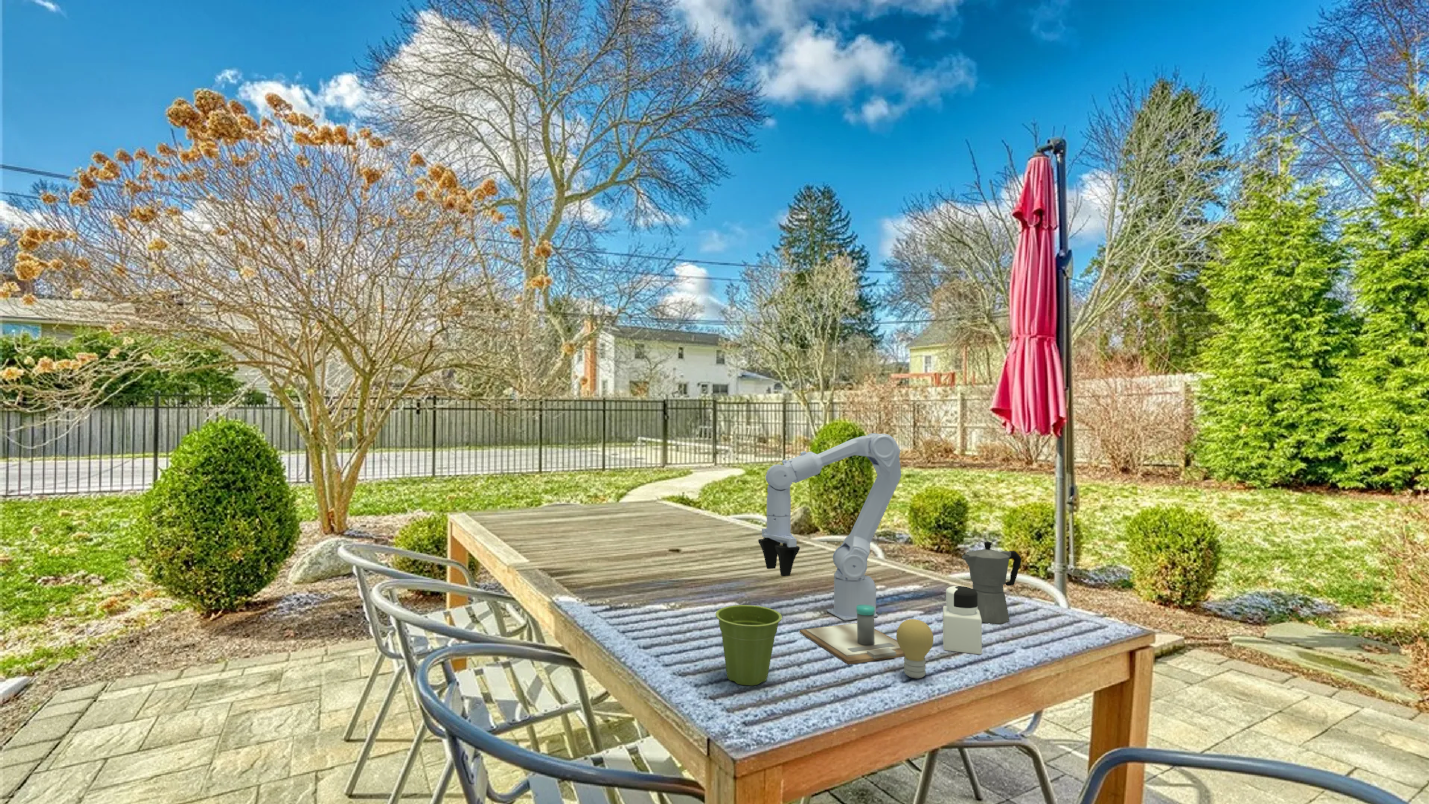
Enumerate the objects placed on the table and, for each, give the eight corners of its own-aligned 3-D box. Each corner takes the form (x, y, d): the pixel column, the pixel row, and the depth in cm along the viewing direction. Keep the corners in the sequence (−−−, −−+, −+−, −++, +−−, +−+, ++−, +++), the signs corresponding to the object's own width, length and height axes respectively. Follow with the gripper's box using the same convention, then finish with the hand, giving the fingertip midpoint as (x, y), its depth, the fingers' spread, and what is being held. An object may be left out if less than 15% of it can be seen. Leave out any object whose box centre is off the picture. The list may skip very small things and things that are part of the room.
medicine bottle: (979, 643, 130) (979, 585, 131) (981, 655, 124) (981, 594, 124) (942, 639, 133) (942, 582, 133) (943, 650, 126) (943, 590, 126)
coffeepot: (975, 626, 142) (974, 546, 142) (951, 613, 151) (951, 538, 151) (1034, 622, 145) (1034, 544, 145) (1007, 610, 154) (1007, 537, 154)
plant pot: (732, 697, 103) (732, 628, 104) (704, 670, 114) (705, 608, 114) (793, 686, 108) (794, 620, 108) (761, 661, 119) (762, 602, 119)
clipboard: (862, 625, 141) (862, 619, 141) (919, 655, 123) (919, 648, 123) (799, 632, 136) (799, 626, 136) (849, 665, 117) (849, 658, 117)
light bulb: (928, 686, 108) (928, 628, 109) (892, 677, 112) (892, 621, 112) (937, 673, 114) (937, 618, 114) (901, 666, 117) (901, 612, 118)
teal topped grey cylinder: (868, 639, 129) (868, 604, 130) (878, 644, 126) (878, 608, 126) (853, 641, 128) (853, 605, 128) (863, 646, 125) (862, 609, 125)
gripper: (750, 511, 155) (750, 566, 154) (777, 520, 141) (776, 580, 141) (776, 510, 157) (776, 564, 157) (804, 518, 144) (804, 578, 143)
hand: (778, 572), depth 149 cm, fingers open, 7 cm apart
